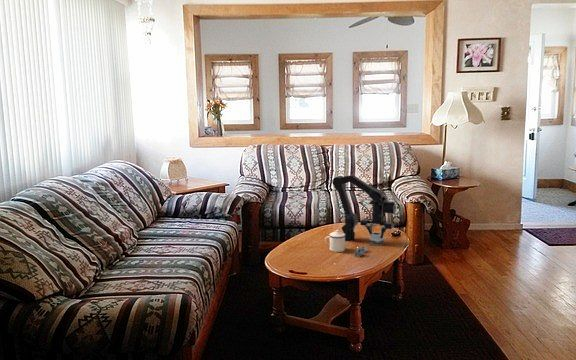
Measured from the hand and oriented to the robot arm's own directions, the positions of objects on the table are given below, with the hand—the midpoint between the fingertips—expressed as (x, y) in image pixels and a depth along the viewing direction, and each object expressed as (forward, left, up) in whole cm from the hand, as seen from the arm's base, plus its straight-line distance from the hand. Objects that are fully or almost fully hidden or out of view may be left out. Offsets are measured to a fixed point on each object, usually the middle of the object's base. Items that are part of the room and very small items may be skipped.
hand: (376, 237), depth 286 cm
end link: (0, 0, -1) cm, 1 cm away
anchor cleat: (-9, -23, -4) cm, 25 cm away
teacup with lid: (-23, -15, -4) cm, 28 cm away
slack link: (-7, -16, -4) cm, 18 cm away
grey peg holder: (0, 0, -4) cm, 4 cm away
